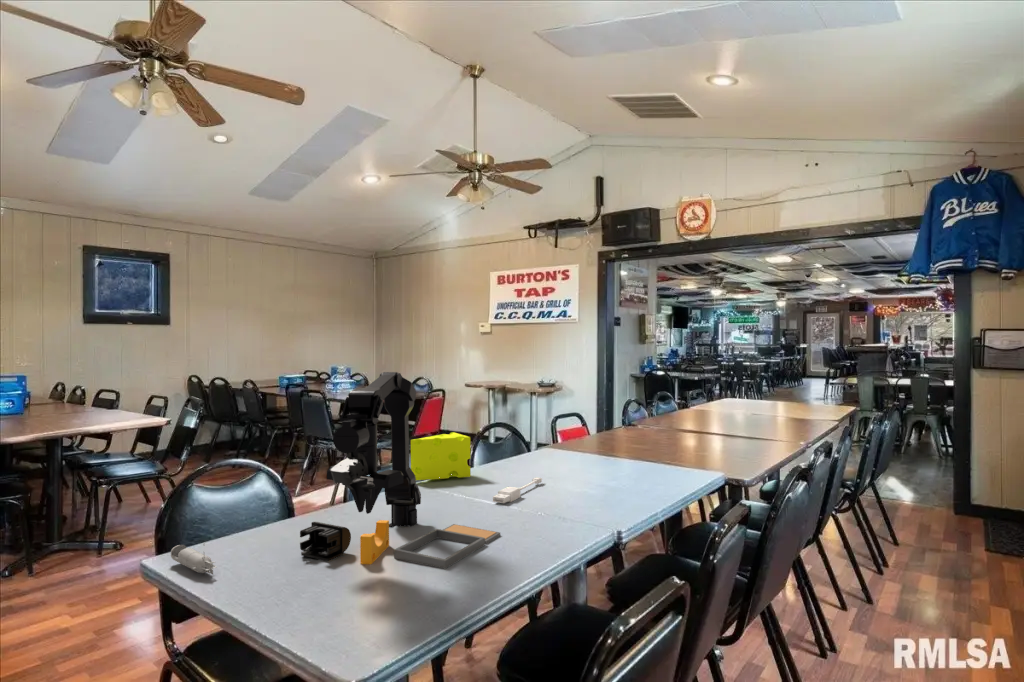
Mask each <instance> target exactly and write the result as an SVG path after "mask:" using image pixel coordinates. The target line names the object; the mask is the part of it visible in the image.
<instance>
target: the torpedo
mask: <svg viewBox="0 0 1024 682" xmlns="http://www.w3.org/2000/svg"><path fill="white" fill-rule="evenodd" d="M205 544H206V543H203V545H205ZM170 557H171V559H172V560H173V561H175V562H176V563H177V562H178V564H181V565H182V566H185V567H186V568H188V569H190V570H191V571H195V572H197V573H198V574H205V573H207V574H211V575H214V569H216V568H218V567H217V566H216V565H215V564H214V563H216V561H212V559H211V558H210V557H209V556H208V555H206V554H205V553H202V552H200V551H198V550H195V549H193V548H191V547H187V546H186V545H185V544H178V545H175V546H174V547H172V548H171V550H170Z"/></svg>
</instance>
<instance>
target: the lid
mask: <svg viewBox="0 0 1024 682" xmlns="http://www.w3.org/2000/svg"><path fill="white" fill-rule="evenodd" d="M442 530H446V531H451V532H457V533H462V534H467V535H473V536H478V537H483V538H485V545H488V544H489V543H491V542H492V541H494V540H496V539H497V538H499V537H500V536H501V532H500V531H494V530H490V529H489V530H488V529H484V528H483V529H482V528H478V527H477V528H476V527H471V526H468V525H461V524H456V523H453V524H451V525H449V526H446V527H445V528H443V529H442Z"/></svg>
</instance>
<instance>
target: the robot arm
mask: <svg viewBox="0 0 1024 682" xmlns="http://www.w3.org/2000/svg"><path fill="white" fill-rule="evenodd" d="M416 398H417V392H416V388H415V386H414V384H413V383H412V381H410V380H408V379H407V378H405V377H403V375H402V373H401V372H398V371H383V372H381V373H380V374H379V376H378V377H377V378H376V379H374V380H373V381H372V382H371V383H370V384H368V385H367V386H366V387H361V388H359V387H358V388H354V389H352V390H350V392H348V394H347V395H346V397H345V401H344V404H343V408H342V412H341V414H340V419H339V422H340V423H341V427H339V428H337V430H336V431H335V433H334V434H333V439H332V440H333V445H334V448H335V449H336V450H338V452H341V453H343V454H346V457H345V458H344V459H343V460H341V461H340V462H338V463H337V464H335V465H331V466H329V468H328V469H327V470H326V480H330V481H333V483H334V484H341V485H343V486H345V487H346V488H348V489H349V490H350V493H351V495H352V498H353V499H354V503H355V505H356V509H357V512H358V513H363V512H364V508H365V514H366V515H369V514H371V512H372V510H373V508H374V507H375V504H376V501H377V500H378V497H379V495H380V493H381V491H382V489H384V497H385V504H386V506H389V505H391V507H390V508H391V509H390V510H391V513H390V514H391V523H390V522H389V528H394V527H413V526H414V525H415V526H416V525H418V509H417V505H418V506H419V505H421V504H422V494H421V491H420V488H419V485H418V484H417V480H416V478H415V475H414V473H413V472H412V470H411V466H410V429H409V428H410V427H409V425H410V424H409V415H410V414H411V411H412V410H413V408H414V405H415V401H416ZM383 406H384V409H385V410H386V412H387V414H388V415H389V416H390V424H391V425H390V429H391V431H390V432H391V435H390V436H391V469H386V470H383V471H381V470H382V465H379V464H378V454H380V453H382V448H381V447H378V423H379V418H380V416H381V415H380V414H381V411H382V409H383Z"/></svg>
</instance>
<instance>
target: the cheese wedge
mask: <svg viewBox="0 0 1024 682" xmlns="http://www.w3.org/2000/svg"><path fill="white" fill-rule="evenodd" d="M471 455H472V454H471V436H468V435H464V434H461V433H457V432H454V431H453V432H450V433H449V434H446V433H442V434H438V435H437V434H435V435H431V436H426V437H421V438H414V439H410V469H411V470H412V472H413V473H414V475H415V478H416V481H423V480H424V481H426V480H427V481H428V480H442V479H443V480H444V479H450V478H451V477H457V478H470V477H471V476H472V475H471V473H472V472H471V468H472V467H471V466H470V465H468V460H471V459H472V458H471ZM451 474H452V475H451ZM439 477H440V478H439Z"/></svg>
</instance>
